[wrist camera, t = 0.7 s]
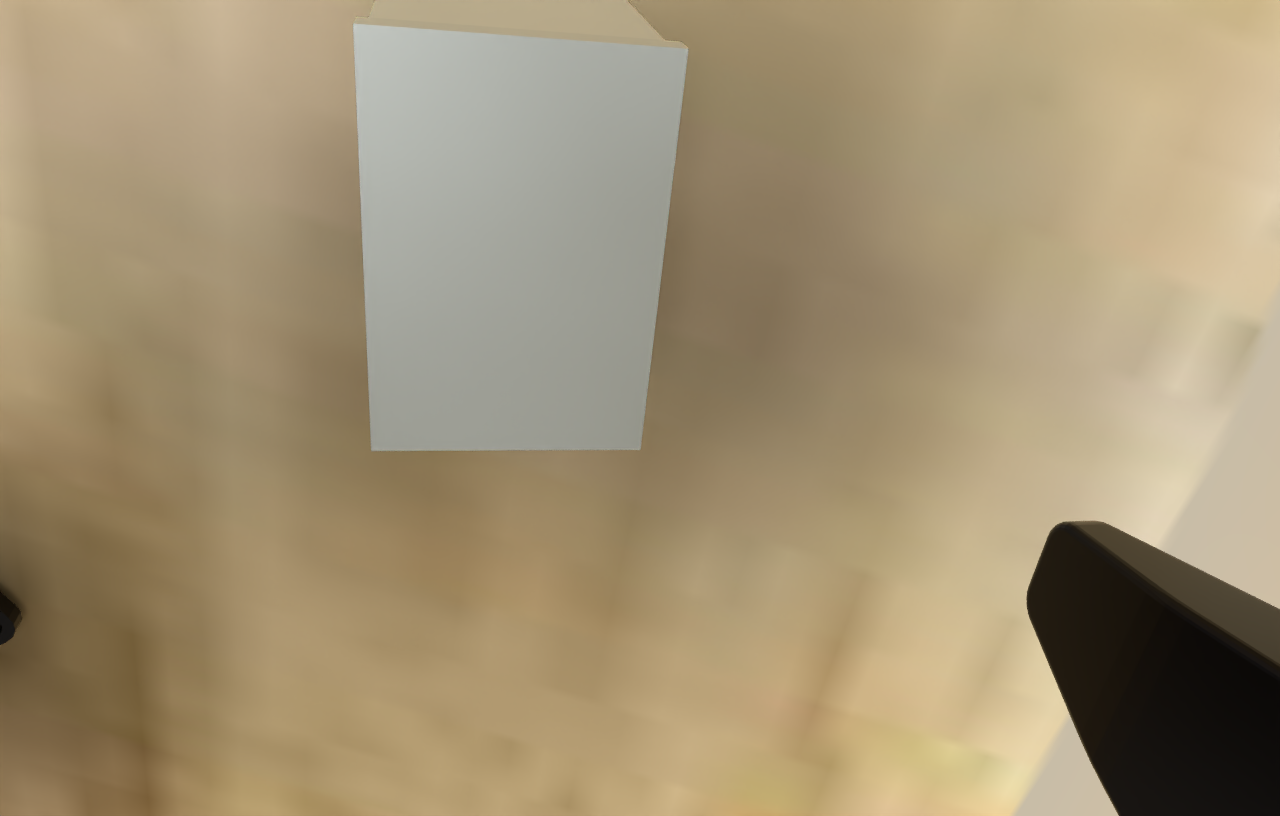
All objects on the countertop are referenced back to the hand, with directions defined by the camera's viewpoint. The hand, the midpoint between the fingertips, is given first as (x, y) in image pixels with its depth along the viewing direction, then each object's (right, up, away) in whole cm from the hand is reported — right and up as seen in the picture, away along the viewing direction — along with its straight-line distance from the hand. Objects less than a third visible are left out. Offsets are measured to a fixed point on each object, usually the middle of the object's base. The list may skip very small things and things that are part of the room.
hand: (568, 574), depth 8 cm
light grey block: (-2, +6, +10) cm, 12 cm away
